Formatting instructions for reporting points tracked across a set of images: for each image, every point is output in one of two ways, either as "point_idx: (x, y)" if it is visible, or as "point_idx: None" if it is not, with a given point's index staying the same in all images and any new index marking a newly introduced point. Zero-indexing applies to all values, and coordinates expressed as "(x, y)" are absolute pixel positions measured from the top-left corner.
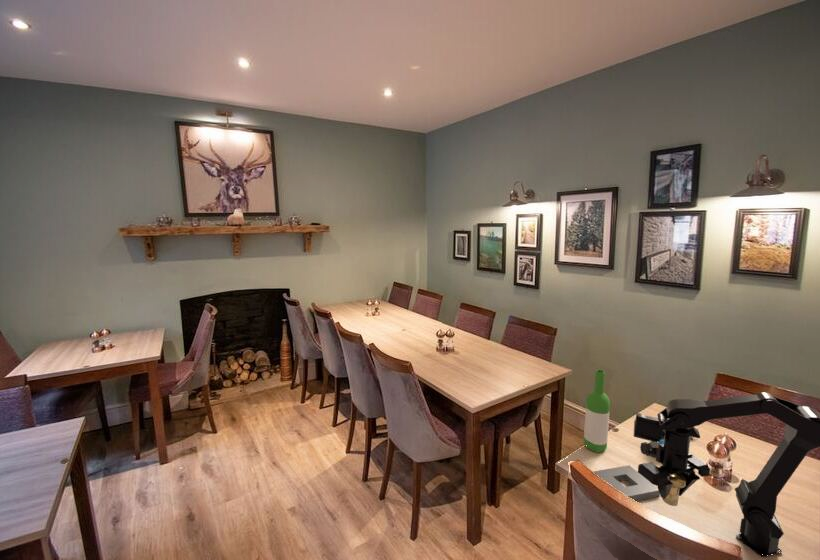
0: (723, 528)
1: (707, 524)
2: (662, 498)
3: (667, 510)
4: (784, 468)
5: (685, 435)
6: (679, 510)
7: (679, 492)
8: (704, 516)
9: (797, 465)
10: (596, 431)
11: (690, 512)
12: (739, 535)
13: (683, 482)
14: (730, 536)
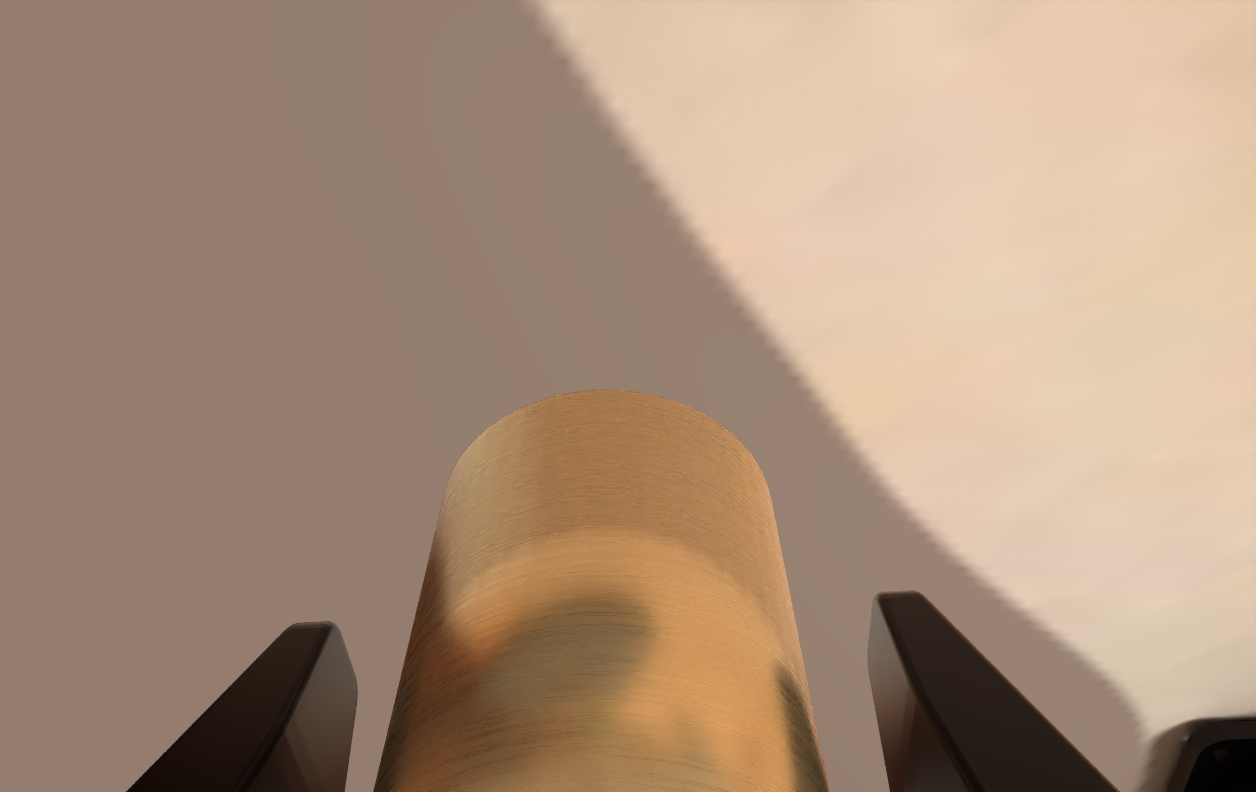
0: (1218, 612)
1: (1079, 538)
2: (470, 451)
3: (706, 207)
4: None
5: None
6: (946, 242)
7: (888, 748)
8: (1231, 417)
9: None
10: None
11: (1098, 313)
12: (1241, 753)
13: None
14: (1141, 702)
